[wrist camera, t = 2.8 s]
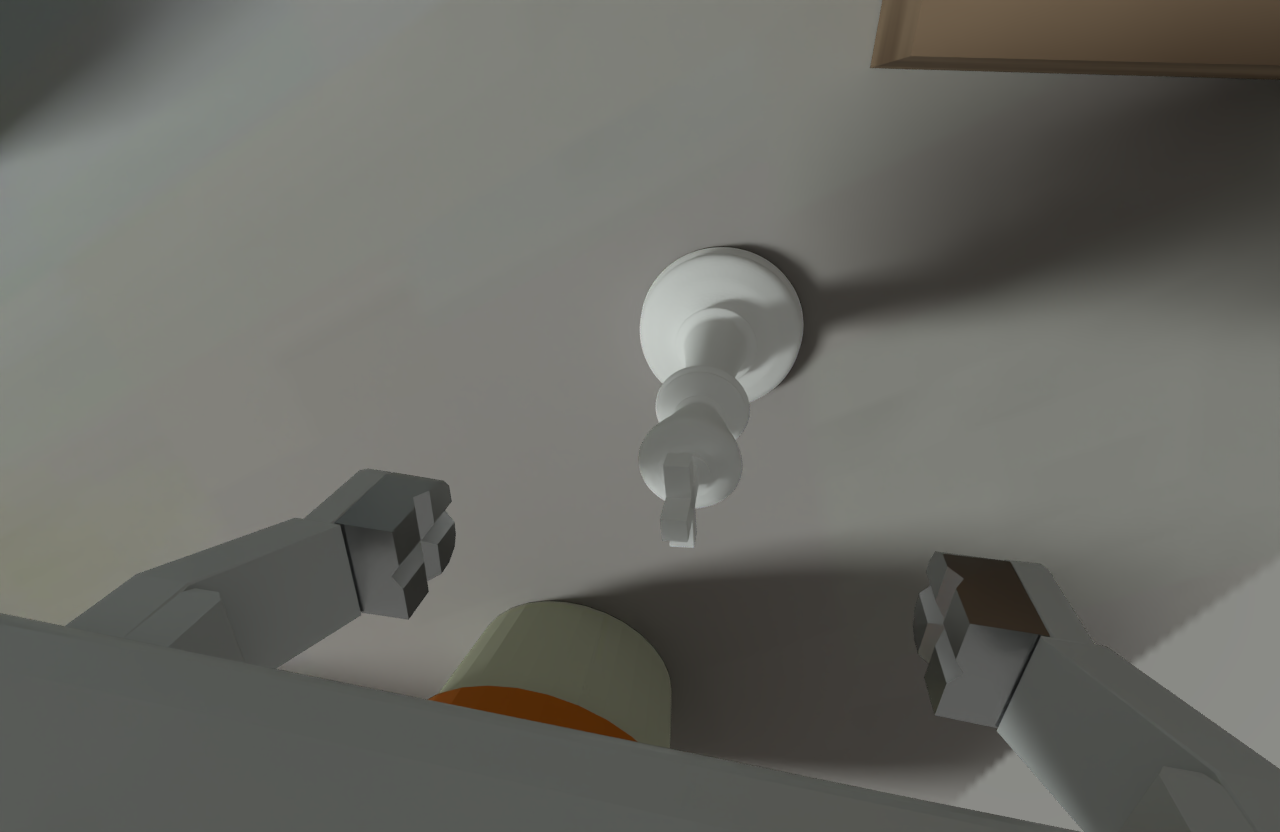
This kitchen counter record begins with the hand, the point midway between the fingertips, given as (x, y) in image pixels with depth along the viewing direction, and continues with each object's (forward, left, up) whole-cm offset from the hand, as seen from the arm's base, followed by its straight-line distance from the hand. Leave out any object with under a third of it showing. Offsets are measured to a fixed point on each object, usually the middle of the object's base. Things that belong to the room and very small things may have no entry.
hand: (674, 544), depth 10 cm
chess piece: (0, 0, -10) cm, 10 cm away
